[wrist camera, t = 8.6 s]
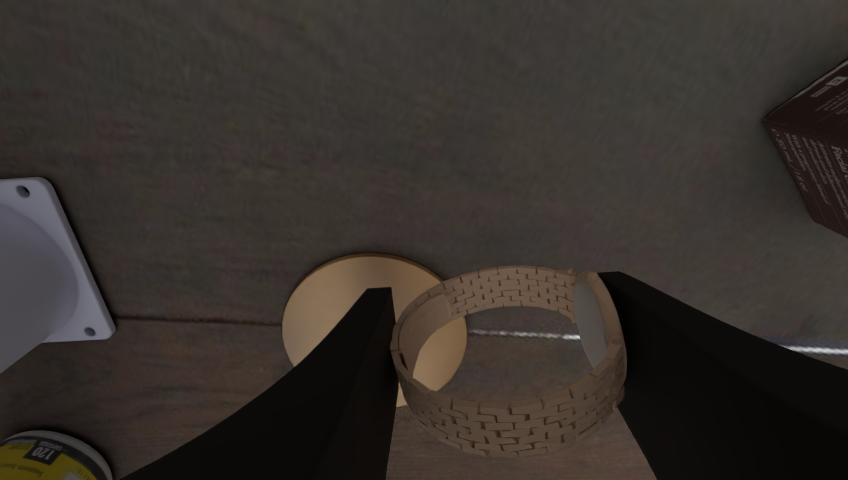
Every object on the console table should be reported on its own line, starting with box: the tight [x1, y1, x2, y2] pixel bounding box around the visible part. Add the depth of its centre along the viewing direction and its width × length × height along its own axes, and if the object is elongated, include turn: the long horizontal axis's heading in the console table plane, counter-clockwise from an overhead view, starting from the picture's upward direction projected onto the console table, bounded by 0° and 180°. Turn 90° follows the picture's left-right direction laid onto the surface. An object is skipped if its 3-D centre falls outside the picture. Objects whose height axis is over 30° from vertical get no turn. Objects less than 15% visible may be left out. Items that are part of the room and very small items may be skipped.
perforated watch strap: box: [390, 265, 627, 458], centre depth 10 cm, size 3×5×5 cm, turn 102°
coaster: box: [282, 253, 467, 407], centre depth 21 cm, size 9×9×1 cm
